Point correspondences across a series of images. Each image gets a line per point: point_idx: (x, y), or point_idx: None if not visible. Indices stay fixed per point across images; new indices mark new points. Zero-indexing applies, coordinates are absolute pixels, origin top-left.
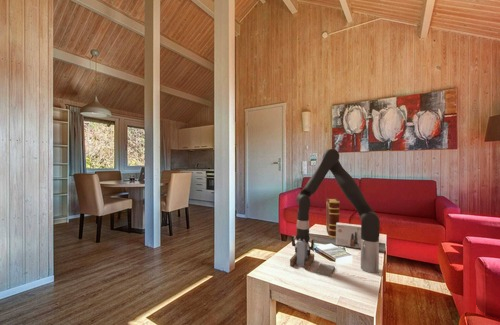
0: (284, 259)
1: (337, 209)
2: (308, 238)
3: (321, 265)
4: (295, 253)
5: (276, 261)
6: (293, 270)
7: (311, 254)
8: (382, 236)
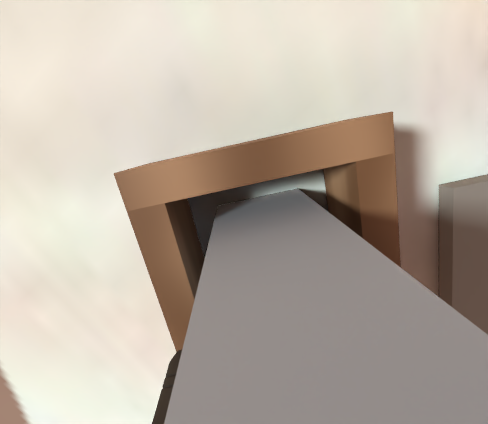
0: (92, 315)
1: None
2: None
3: (475, 237)
4: (156, 293)
5: (74, 391)
6: None
7: (362, 167)
8: None
